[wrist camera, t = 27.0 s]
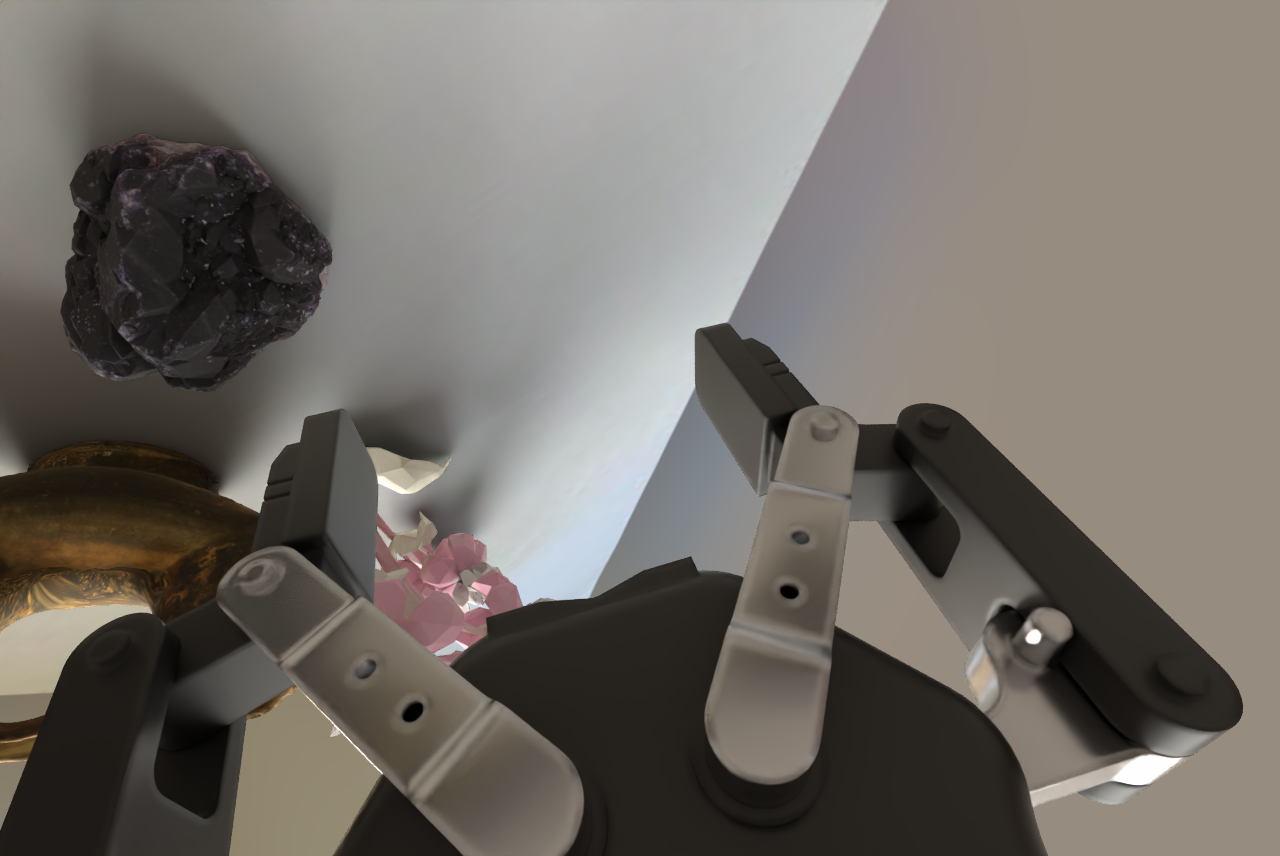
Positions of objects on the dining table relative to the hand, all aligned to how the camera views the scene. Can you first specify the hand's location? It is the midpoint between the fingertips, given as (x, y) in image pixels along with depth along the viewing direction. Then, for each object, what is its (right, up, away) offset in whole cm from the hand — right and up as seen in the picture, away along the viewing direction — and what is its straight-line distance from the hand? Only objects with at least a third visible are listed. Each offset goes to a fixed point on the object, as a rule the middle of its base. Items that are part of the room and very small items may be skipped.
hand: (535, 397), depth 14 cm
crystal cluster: (-24, +11, +23) cm, 35 cm away
